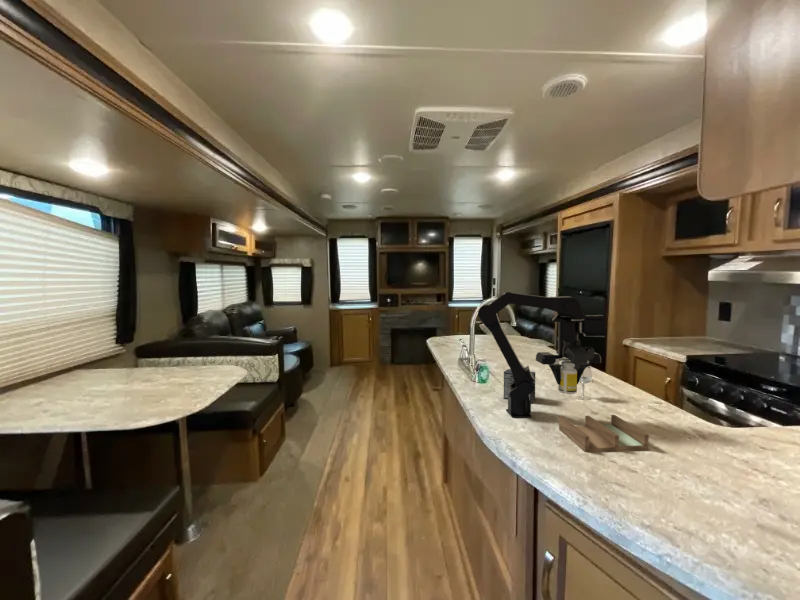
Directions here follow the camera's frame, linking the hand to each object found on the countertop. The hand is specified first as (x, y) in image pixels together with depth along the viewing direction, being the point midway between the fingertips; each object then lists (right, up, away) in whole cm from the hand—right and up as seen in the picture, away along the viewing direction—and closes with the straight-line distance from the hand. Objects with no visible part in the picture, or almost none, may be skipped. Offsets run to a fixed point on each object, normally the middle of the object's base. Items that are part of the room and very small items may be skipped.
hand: (567, 384), depth 115 cm
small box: (-9, -11, +20) cm, 24 cm away
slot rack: (+3, -12, -14) cm, 19 cm away
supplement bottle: (0, -3, 0) cm, 3 cm away
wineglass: (+15, -10, +20) cm, 27 cm away
